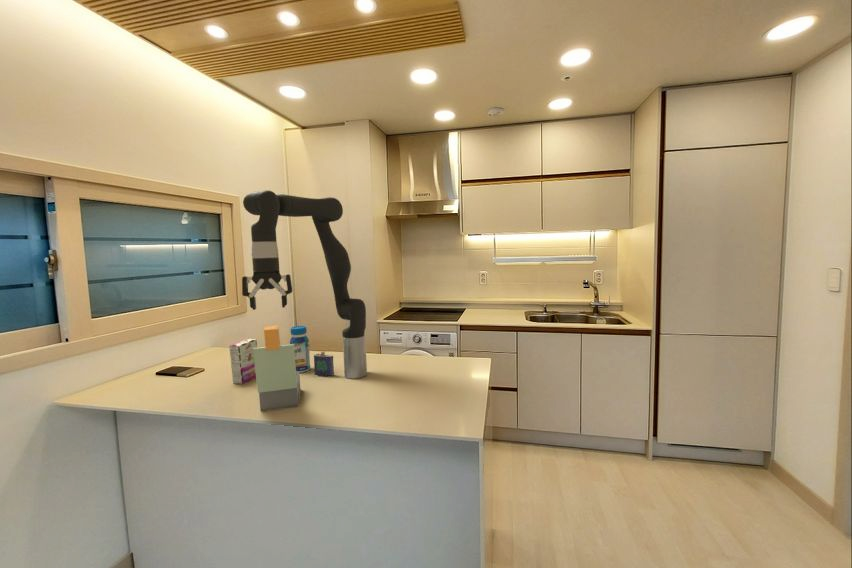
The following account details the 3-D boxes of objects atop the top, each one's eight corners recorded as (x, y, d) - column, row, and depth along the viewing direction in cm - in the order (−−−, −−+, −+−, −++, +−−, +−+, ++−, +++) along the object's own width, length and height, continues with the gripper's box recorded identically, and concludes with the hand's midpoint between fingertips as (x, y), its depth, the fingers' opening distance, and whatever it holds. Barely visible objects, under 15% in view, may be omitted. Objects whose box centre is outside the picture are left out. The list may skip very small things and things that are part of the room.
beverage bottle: (314, 368, 165) (312, 326, 163) (299, 374, 158) (296, 329, 156) (302, 366, 169) (300, 324, 167) (287, 371, 162) (284, 328, 160)
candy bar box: (250, 374, 159) (247, 338, 158) (260, 375, 158) (257, 338, 157) (231, 383, 149) (228, 345, 147) (242, 384, 148) (239, 345, 146)
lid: (292, 323, 119) (291, 327, 115) (297, 385, 125) (296, 391, 121) (251, 326, 115) (249, 331, 112) (258, 389, 121) (256, 396, 118)
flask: (335, 374, 156) (333, 350, 155) (331, 377, 153) (330, 352, 152) (316, 373, 158) (315, 349, 157) (312, 375, 155) (311, 351, 154)
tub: (300, 389, 140) (299, 372, 139) (298, 406, 124) (296, 386, 124) (267, 394, 136) (265, 376, 136) (260, 411, 121) (258, 391, 120)
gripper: (290, 255, 117) (294, 305, 118) (242, 257, 113) (246, 308, 115) (288, 256, 110) (292, 308, 111) (237, 257, 106) (241, 311, 107)
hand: (269, 308), depth 113 cm, fingers open, 8 cm apart
